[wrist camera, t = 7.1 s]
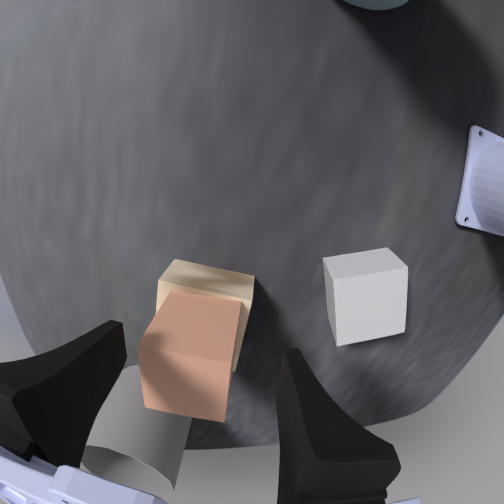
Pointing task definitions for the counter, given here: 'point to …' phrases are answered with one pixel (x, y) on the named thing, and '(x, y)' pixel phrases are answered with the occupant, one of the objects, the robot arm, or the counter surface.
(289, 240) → the counter surface
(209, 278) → the oak base block
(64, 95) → the counter surface
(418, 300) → the counter surface
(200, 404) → the terracotta block
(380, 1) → the teal round container
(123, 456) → the cup
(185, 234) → the counter surface
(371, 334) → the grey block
